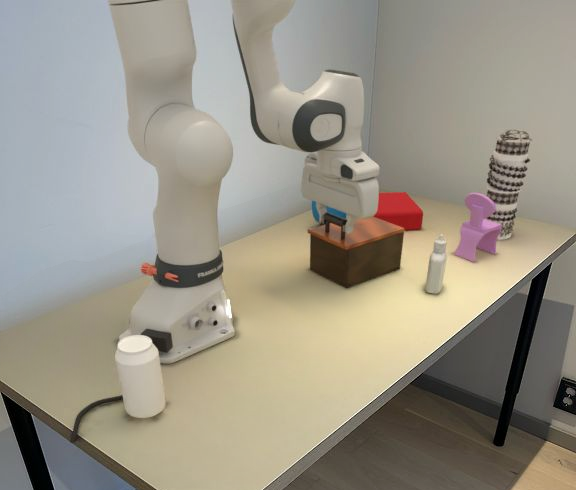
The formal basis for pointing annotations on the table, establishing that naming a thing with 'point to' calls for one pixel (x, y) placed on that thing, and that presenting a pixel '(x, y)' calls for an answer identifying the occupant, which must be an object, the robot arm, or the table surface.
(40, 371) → the table surface
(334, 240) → the lid
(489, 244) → the toy chair
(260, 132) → the robot arm
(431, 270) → the eye dropper bottle
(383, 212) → the red device housing
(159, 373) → the beverage can
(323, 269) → the chest
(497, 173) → the decorative candle
